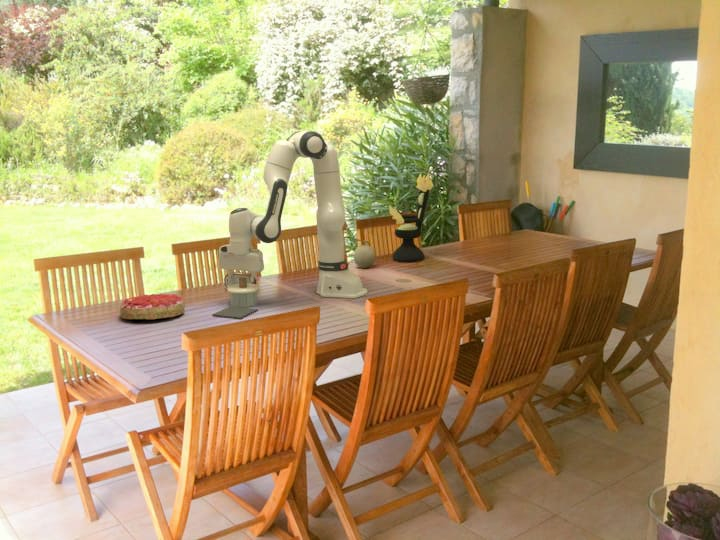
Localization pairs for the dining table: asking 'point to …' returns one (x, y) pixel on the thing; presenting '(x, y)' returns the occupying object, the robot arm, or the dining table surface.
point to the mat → (234, 312)
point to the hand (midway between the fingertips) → (241, 280)
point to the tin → (237, 278)
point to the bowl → (243, 299)
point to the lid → (242, 287)
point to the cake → (152, 307)
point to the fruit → (364, 255)
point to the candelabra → (409, 231)
